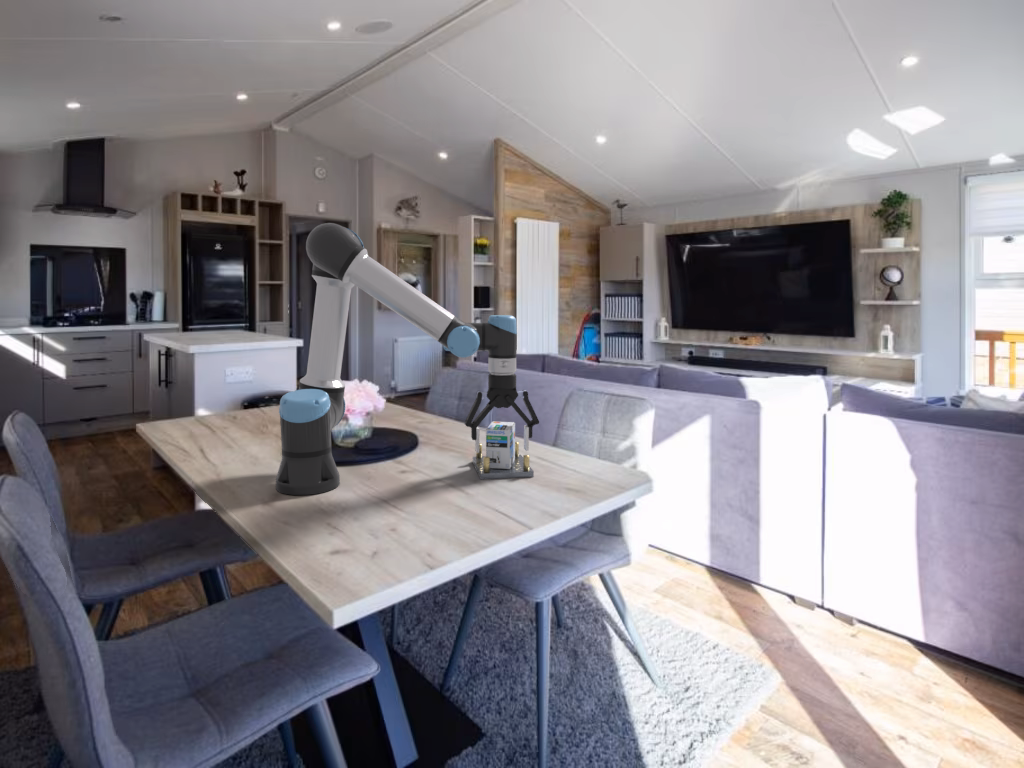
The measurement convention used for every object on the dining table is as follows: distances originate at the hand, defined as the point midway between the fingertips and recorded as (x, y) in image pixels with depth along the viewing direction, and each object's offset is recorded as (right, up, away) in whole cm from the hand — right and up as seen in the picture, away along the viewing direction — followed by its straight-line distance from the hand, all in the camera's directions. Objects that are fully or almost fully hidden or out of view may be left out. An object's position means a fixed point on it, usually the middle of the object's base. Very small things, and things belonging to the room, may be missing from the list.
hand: (501, 450), depth 173 cm
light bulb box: (0, -4, 0) cm, 4 cm away
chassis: (0, -5, +1) cm, 5 cm away
